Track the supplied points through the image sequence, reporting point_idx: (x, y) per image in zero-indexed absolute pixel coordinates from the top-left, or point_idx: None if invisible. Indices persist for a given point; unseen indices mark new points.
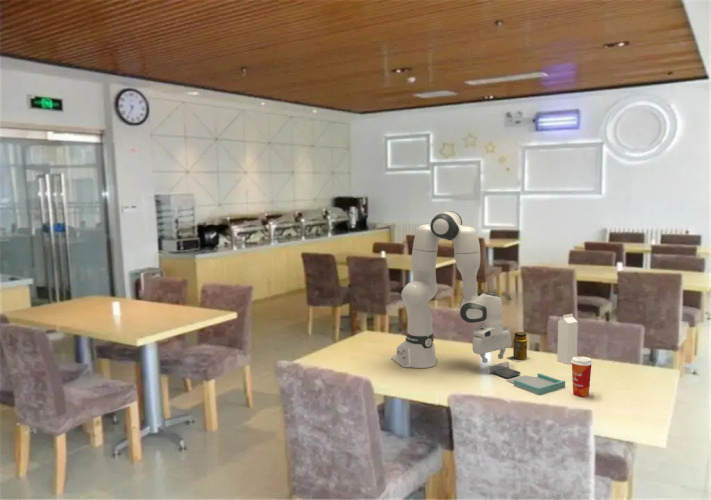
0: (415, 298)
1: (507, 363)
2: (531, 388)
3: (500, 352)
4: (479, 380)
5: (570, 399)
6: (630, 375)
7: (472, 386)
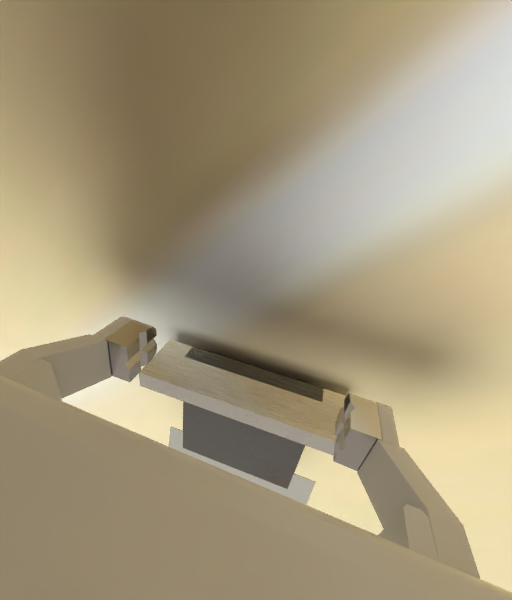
0: None
1: (328, 445)
2: None
3: (390, 473)
4: (72, 337)
5: None
6: None
7: (10, 346)
